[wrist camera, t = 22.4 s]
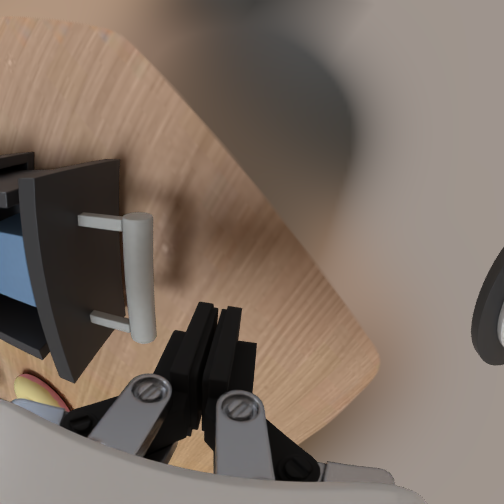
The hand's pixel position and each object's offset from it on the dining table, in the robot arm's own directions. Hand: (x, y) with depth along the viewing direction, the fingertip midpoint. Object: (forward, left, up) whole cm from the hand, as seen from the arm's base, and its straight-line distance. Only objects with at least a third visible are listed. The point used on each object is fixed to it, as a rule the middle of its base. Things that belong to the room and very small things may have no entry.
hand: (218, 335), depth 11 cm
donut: (+35, -1, -9) cm, 36 cm away
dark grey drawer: (+9, -9, -7) cm, 15 cm away
